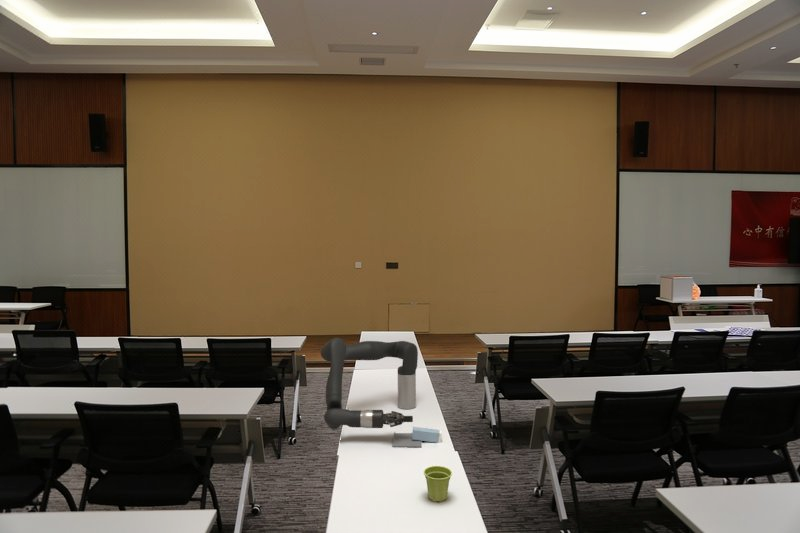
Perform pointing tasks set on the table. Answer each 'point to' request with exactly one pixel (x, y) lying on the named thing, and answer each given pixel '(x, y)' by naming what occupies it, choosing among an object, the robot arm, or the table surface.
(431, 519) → the table surface
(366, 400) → the table surface
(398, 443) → the mat
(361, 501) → the table surface
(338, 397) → the robot arm
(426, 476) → the plant pot
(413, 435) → the blue block
